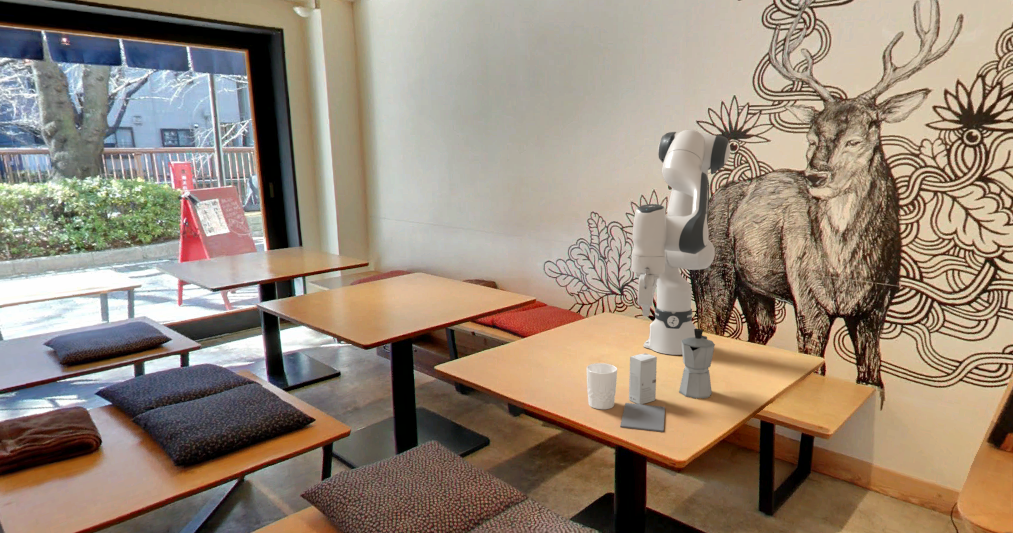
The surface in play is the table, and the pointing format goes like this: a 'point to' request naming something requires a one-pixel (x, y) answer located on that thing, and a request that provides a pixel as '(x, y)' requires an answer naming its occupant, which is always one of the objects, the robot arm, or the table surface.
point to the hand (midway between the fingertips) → (646, 315)
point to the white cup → (601, 385)
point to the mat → (643, 417)
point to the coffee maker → (696, 366)
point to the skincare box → (642, 378)
